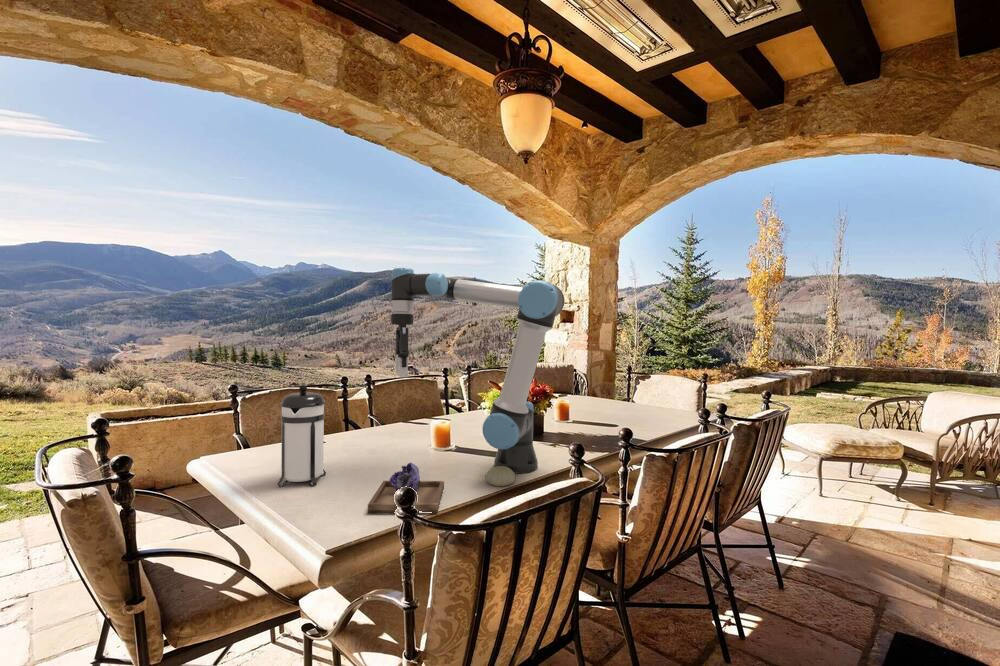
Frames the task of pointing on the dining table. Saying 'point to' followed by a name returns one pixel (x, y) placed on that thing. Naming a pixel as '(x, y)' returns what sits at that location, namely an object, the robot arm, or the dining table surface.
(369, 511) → the walnut tray
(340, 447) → the dining table surface
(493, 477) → the sea urchin shell
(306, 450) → the coffee press
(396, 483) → the amethyst cluster
